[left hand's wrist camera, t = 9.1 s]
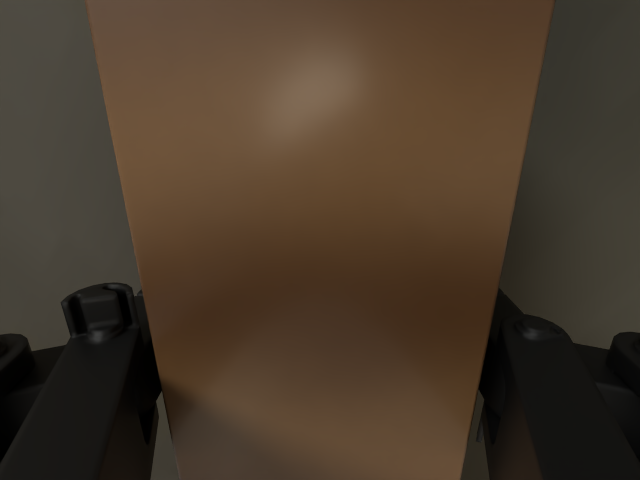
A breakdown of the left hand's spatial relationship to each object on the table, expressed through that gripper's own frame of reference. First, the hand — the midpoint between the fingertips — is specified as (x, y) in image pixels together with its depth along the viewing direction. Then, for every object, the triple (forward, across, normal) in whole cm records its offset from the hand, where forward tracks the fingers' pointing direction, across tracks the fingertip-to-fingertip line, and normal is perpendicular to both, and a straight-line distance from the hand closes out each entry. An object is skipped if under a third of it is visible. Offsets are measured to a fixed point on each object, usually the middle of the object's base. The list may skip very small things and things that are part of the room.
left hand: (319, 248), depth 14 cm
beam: (+1, 0, -34) cm, 34 cm away
